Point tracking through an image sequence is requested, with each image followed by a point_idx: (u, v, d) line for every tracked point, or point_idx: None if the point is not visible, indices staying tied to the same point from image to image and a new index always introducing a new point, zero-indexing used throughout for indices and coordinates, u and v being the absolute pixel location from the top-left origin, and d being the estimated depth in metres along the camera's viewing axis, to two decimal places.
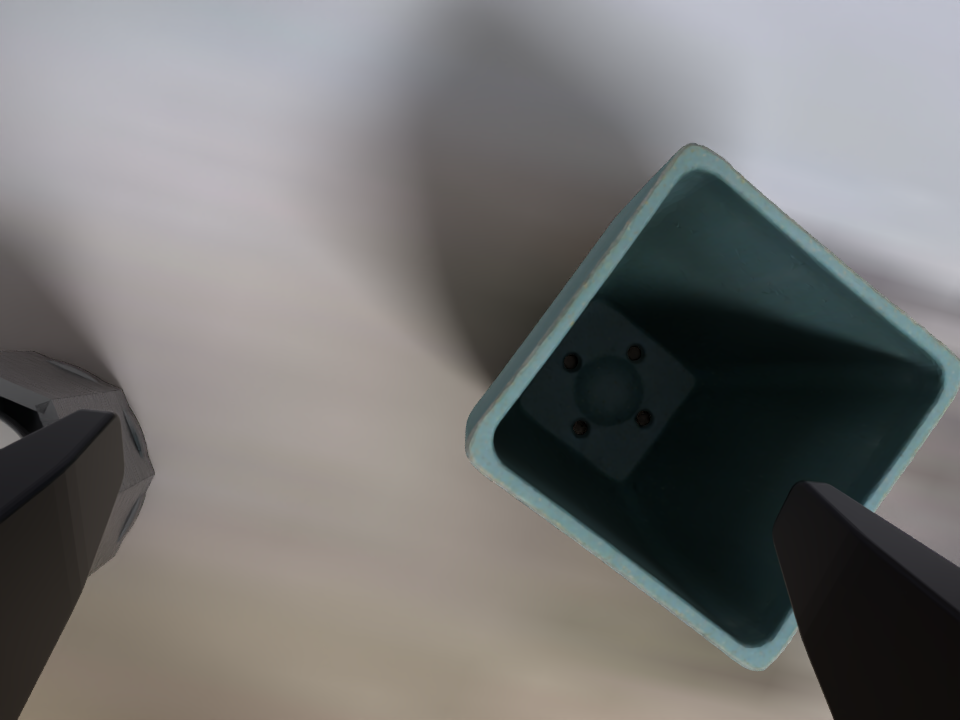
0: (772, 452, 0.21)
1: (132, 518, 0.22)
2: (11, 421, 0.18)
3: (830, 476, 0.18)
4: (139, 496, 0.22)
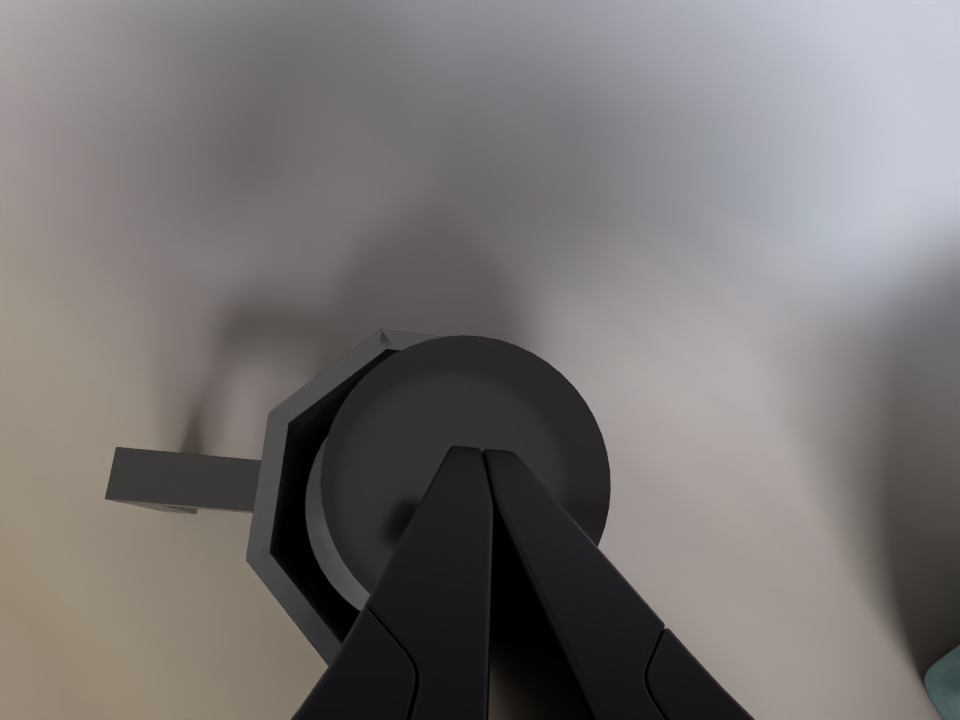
0: None
1: None
2: None
3: None
4: None
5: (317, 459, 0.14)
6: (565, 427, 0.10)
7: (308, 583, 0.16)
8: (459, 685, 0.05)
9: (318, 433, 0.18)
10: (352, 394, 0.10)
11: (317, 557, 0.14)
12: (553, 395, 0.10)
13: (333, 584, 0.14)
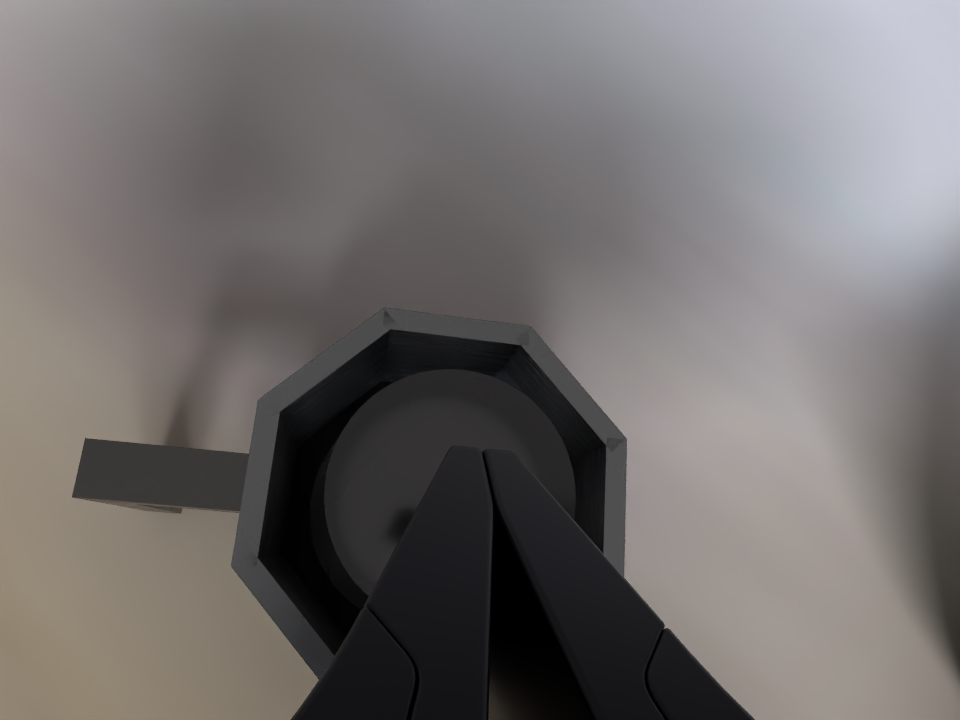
0: None
1: None
2: None
3: None
4: None
5: (320, 471, 0.16)
6: (536, 449, 0.12)
7: (303, 590, 0.15)
8: (459, 685, 0.05)
9: (315, 425, 0.16)
10: (351, 421, 0.11)
11: (320, 560, 0.15)
12: (526, 421, 0.12)
13: (334, 584, 0.15)
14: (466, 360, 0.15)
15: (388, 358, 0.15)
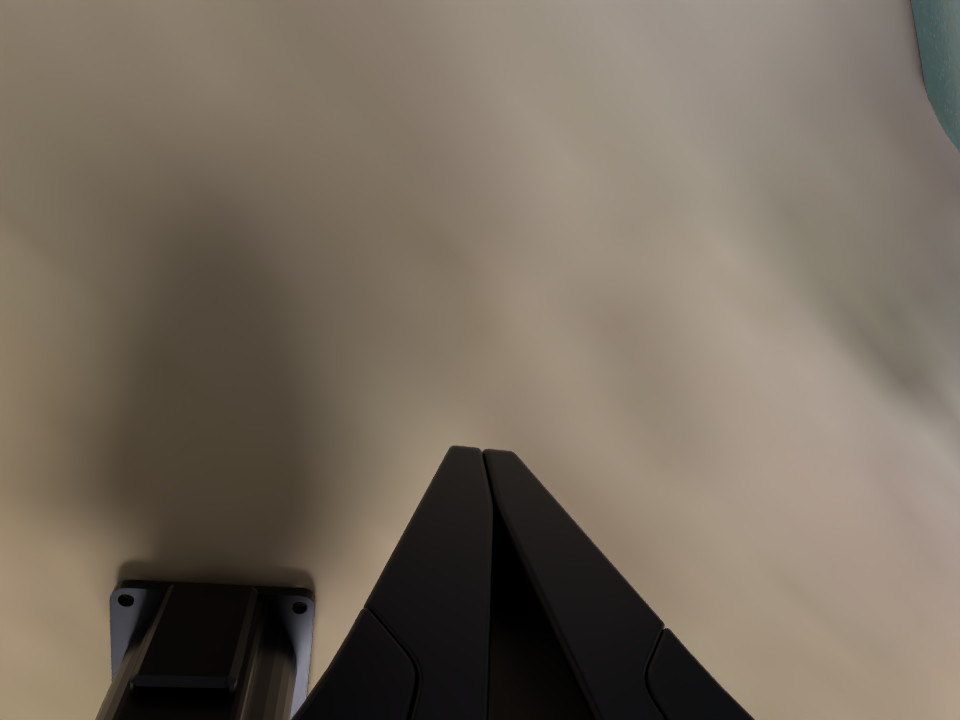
0: None
1: None
2: None
3: None
4: None
5: None
6: None
7: None
8: (459, 685, 0.05)
9: None
10: None
11: None
12: None
13: None
14: None
15: None
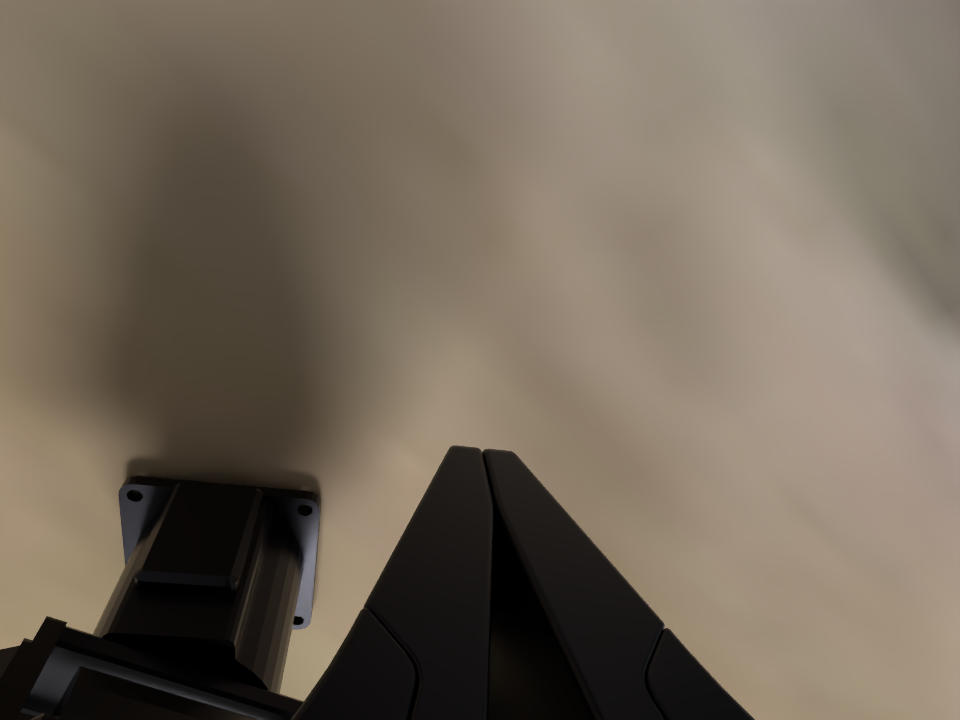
0: None
1: None
2: None
3: None
4: None
5: None
6: None
7: None
8: (459, 685, 0.05)
9: None
10: None
11: None
12: None
13: None
14: None
15: None
